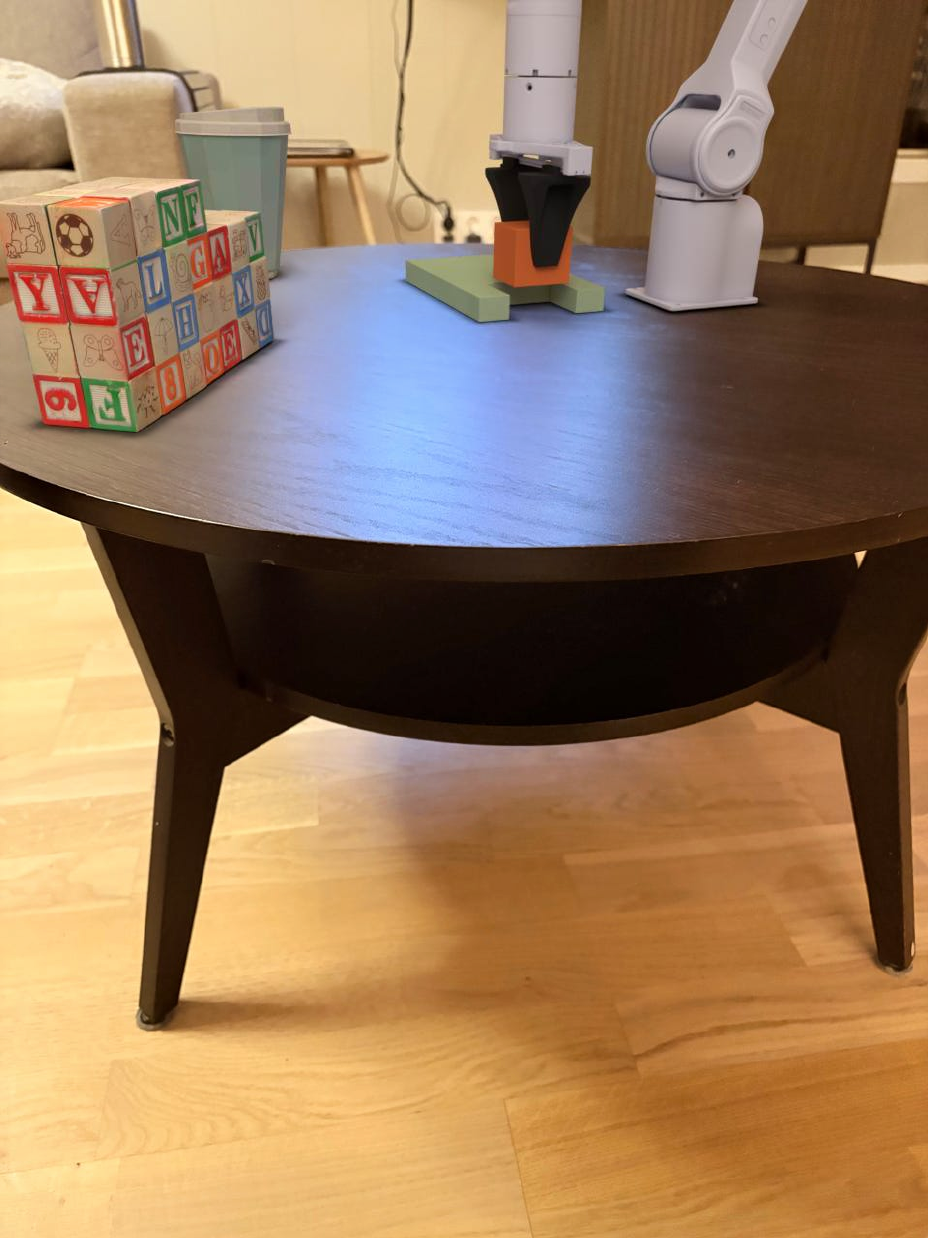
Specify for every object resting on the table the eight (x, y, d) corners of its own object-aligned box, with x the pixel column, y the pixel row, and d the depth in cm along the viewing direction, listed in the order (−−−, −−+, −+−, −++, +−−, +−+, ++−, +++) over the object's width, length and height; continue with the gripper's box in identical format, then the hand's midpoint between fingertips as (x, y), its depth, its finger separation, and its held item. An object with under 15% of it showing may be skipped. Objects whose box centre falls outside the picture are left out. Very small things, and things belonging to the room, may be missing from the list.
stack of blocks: (200, 335, 73) (177, 161, 66) (276, 341, 72) (260, 164, 65) (41, 425, 55) (-12, 198, 48) (138, 433, 54) (98, 202, 47)
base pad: (515, 273, 96) (516, 252, 95) (603, 310, 82) (605, 287, 81) (405, 281, 92) (405, 259, 91) (479, 322, 78) (479, 297, 77)
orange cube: (545, 273, 83) (548, 219, 81) (569, 283, 79) (573, 226, 77) (492, 277, 81) (494, 222, 79) (514, 287, 78) (516, 229, 75)
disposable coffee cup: (171, 280, 91) (145, 105, 83) (231, 262, 99) (213, 101, 92) (266, 290, 88) (249, 108, 80) (320, 269, 96) (309, 104, 88)
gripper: (457, 74, 77) (456, 249, 84) (536, 78, 65) (527, 279, 72) (534, 75, 79) (526, 244, 86) (623, 78, 68) (606, 273, 75)
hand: (532, 260), depth 80 cm, fingers closed on orange cube, 4 cm apart
